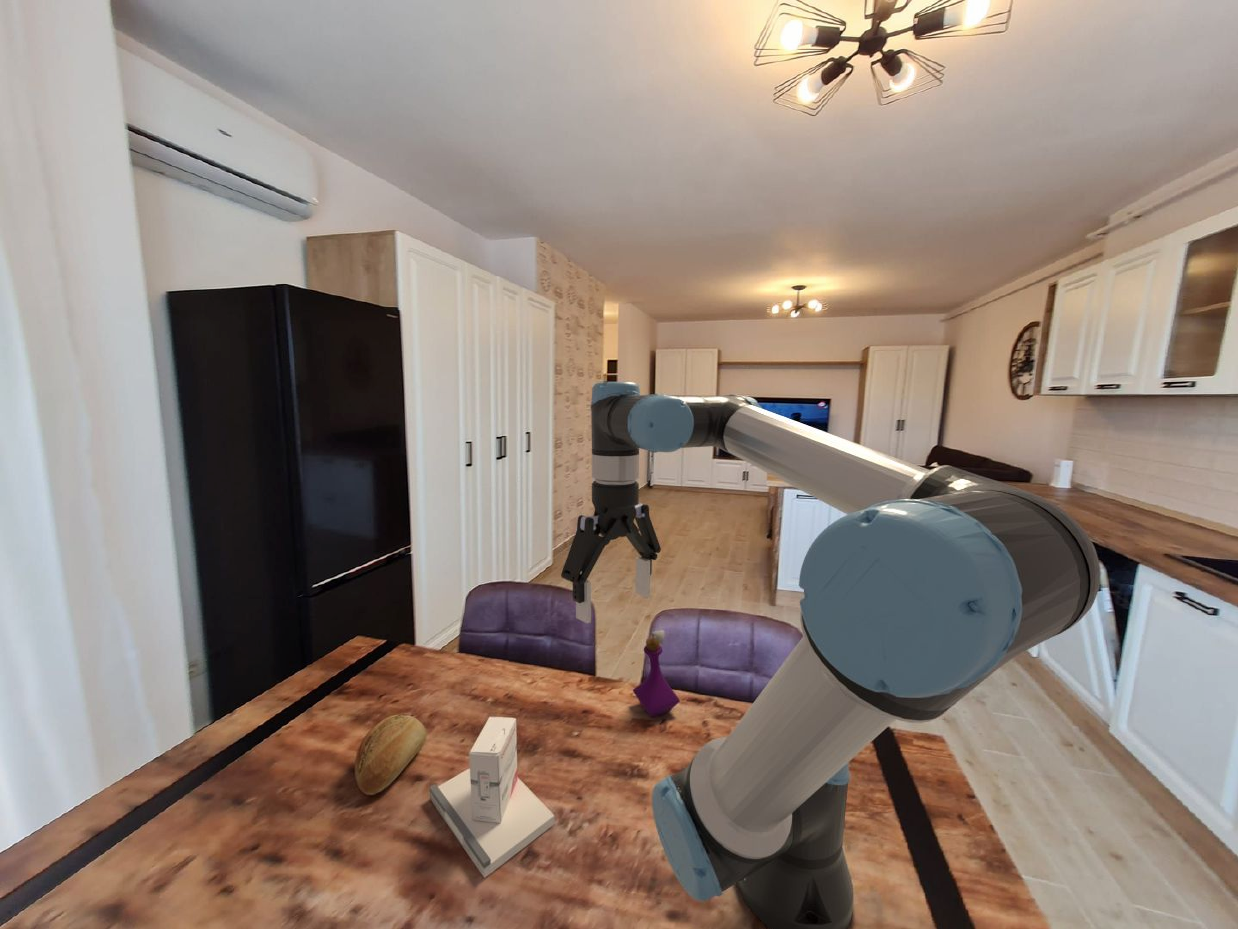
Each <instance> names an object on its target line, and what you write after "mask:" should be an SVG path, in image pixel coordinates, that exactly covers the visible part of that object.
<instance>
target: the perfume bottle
mask: <svg viewBox="0 0 1238 929" xmlns="http://www.w3.org/2000/svg"><path fill="white" fill-rule="evenodd" d="M665 632H666V631H665V630H663V629H662V630H654V631H652V632H650V635H651V637H647V639H646V641H645V643H646V645H645V646H644V647H643V654H645V655H647V656H648V658H649V662H650V666H649V667H650V669H649V673H648V675H647V677H646V678H645V680H643V681H642V682H641V683H640V684H638V686H635V687H634V688H633V690H632V692H633V693H634V695H635V696H636V698H637V700H638V701H639V703H640V705H641V706H642V707H643V709H644V710H645V711H646V712H647V713H648V715H649V716H650V718H656V717H658V716H662V715H665V714H668V713H670V712H671V711H672V710H673V708H674V707H676V706H677V704H679V703H680V701H681V700H680V698H679V697H678V695H677V694H676V693H675V691H674V690H673V688H671V686H670V684H669V683H668V682H667V680H666V679H665V678H664V674H663V672H662V670H661V666H660V665H661V664H660V661H659V660H660V658H659V656H660V655H662V653H663V647H662V646H661V645H663V644H664V642H665V638H666V633H665Z"/></svg>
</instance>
